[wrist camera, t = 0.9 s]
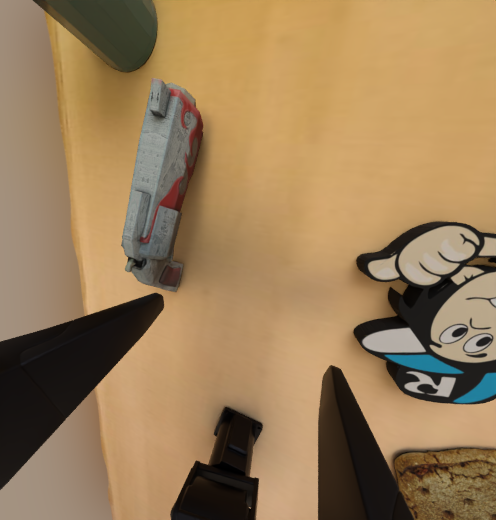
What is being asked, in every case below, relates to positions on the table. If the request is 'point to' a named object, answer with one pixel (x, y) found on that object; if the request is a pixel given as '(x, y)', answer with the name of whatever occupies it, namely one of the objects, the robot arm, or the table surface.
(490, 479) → the pastry
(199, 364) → the table surface
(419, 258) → the toy
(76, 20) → the pen holder
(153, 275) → the toy gun
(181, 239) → the table surface
